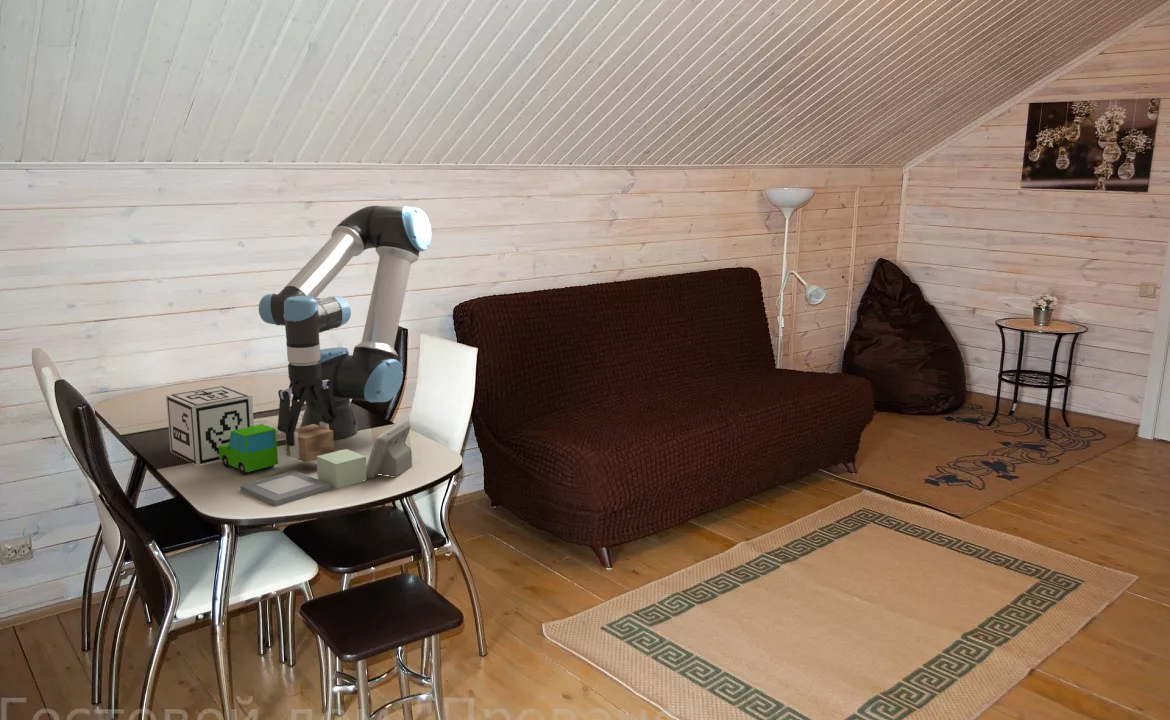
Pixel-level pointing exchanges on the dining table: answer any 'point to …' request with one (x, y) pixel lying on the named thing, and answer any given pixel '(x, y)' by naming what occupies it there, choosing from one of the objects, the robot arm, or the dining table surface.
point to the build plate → (284, 487)
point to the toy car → (250, 449)
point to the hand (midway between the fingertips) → (310, 452)
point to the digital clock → (390, 452)
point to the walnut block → (313, 442)
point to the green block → (341, 468)
